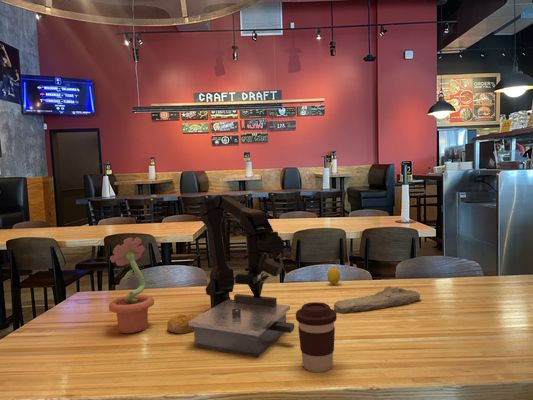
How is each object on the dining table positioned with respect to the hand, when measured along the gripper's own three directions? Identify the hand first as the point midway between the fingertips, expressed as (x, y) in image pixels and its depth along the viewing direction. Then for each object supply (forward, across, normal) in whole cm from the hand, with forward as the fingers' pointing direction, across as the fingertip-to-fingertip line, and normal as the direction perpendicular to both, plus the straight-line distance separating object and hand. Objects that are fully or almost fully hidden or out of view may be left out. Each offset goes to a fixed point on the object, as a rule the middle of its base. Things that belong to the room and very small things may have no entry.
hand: (257, 299), depth 126 cm
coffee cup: (+9, -20, -26) cm, 34 cm away
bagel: (+9, -10, +22) cm, 26 cm away
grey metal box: (+8, -11, -3) cm, 14 cm away
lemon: (+9, +54, -10) cm, 56 cm away
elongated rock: (+9, +32, -32) cm, 46 cm away
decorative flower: (+9, -16, +37) cm, 41 cm away
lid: (+2, -11, 0) cm, 11 cm away
